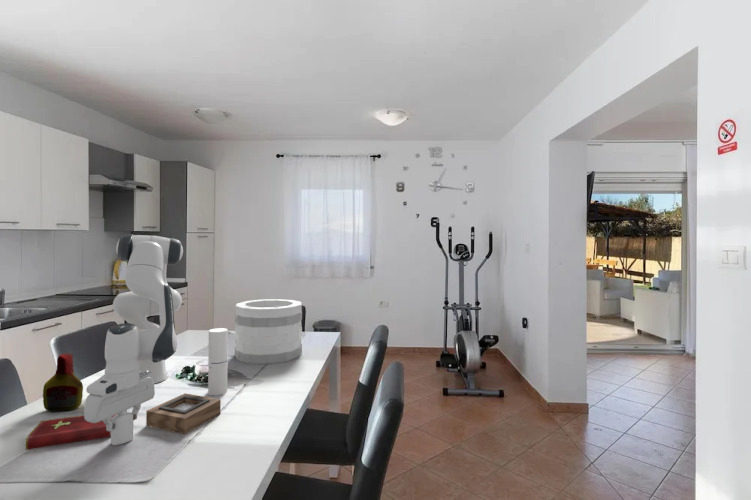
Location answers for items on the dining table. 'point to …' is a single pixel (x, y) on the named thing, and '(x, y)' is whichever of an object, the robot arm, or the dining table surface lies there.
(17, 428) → the dining table surface
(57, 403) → the bottle
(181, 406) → the plate
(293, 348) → the storage basket
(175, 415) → the socket block
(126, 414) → the eye dropper bottle
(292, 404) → the dining table surface
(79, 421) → the hardcover book
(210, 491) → the dining table surface
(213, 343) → the cylindrical container
